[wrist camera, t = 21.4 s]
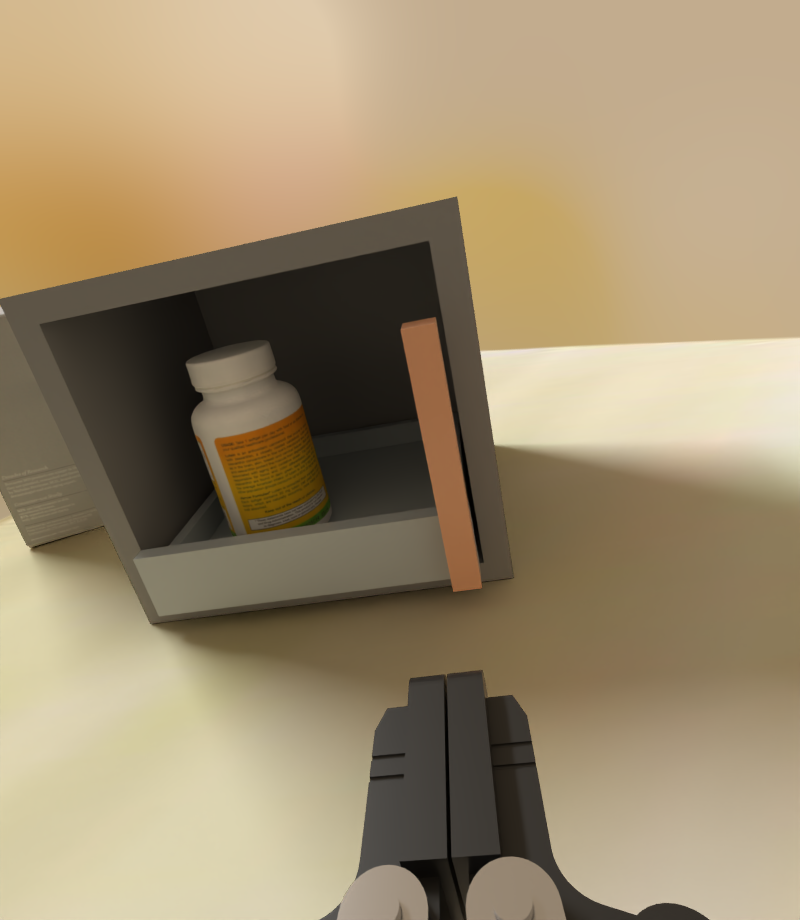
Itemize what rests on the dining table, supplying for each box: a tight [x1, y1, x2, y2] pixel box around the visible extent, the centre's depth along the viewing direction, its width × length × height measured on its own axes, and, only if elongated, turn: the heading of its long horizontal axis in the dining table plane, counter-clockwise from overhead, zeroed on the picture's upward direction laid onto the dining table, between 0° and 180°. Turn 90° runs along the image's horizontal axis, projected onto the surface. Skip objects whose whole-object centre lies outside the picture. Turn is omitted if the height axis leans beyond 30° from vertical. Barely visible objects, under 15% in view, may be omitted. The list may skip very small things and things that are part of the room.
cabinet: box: [0, 197, 514, 624], centre depth 31 cm, size 18×16×16 cm
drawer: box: [133, 317, 482, 616], centre depth 30 cm, size 15×16×11 cm
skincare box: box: [0, 307, 104, 548], centre depth 40 cm, size 8×7×16 cm
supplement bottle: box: [186, 340, 332, 537], centre depth 28 cm, size 5×5×10 cm
